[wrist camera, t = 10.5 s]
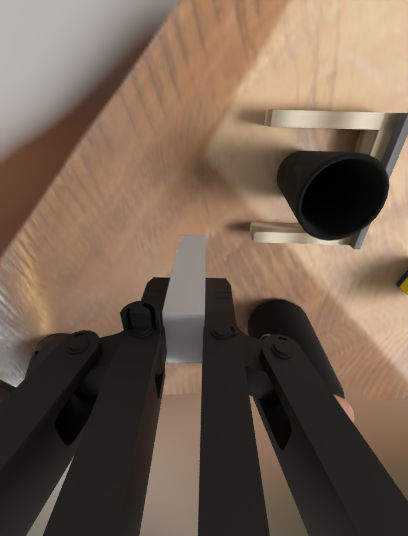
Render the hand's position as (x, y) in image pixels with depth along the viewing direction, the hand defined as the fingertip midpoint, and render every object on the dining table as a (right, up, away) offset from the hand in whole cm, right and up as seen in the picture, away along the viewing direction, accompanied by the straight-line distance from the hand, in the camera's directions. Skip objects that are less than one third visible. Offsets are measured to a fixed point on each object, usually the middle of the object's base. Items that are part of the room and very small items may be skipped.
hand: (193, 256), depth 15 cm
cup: (+13, +12, +17) cm, 24 cm away
